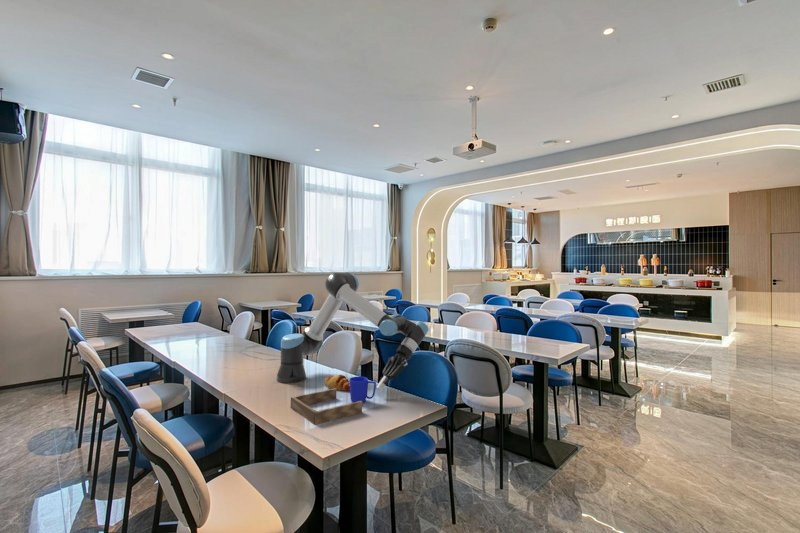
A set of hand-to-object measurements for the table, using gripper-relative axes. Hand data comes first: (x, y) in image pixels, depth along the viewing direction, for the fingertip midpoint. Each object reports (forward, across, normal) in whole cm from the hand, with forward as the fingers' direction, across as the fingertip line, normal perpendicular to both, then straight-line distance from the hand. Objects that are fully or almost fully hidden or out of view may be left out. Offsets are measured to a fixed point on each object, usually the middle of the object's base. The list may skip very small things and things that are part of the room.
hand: (378, 389), depth 175 cm
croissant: (+8, +26, +1) cm, 27 cm away
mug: (+9, 0, +3) cm, 10 cm away
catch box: (+21, 0, +16) cm, 27 cm away
